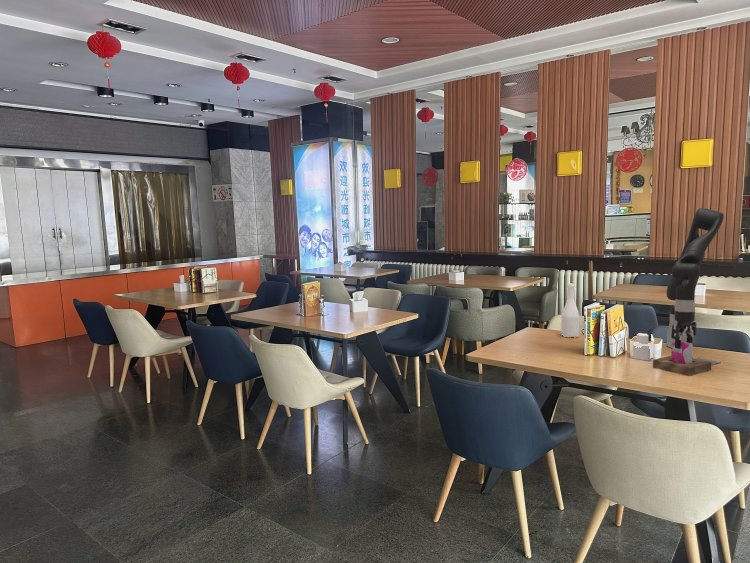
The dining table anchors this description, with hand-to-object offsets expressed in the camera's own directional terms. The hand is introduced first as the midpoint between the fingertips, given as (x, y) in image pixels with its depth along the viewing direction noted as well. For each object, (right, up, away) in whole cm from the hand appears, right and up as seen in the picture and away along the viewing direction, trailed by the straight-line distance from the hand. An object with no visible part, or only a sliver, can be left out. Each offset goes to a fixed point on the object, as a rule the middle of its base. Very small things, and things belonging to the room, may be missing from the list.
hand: (683, 347), depth 230 cm
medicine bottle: (-7, -8, +20) cm, 23 cm away
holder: (0, -10, +1) cm, 10 cm away
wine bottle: (-23, -3, +71) cm, 74 cm away
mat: (+15, -8, +11) cm, 20 cm away
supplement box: (0, -10, +1) cm, 10 cm away
